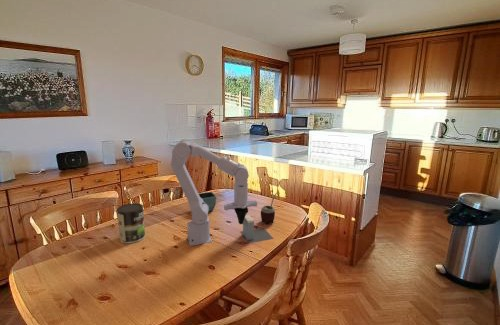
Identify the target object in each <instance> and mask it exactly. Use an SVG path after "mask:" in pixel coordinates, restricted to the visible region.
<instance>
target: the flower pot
mask: <svg viewBox="0 0 500 325" xmlns="http://www.w3.org/2000/svg"><path fill="white" fill-rule="evenodd" d="M198 194H199V196H200V197H201V198H202V199H203V201H204V202H205V203H206V204H207V205H208V207H209V212H212V211H214V209H215V207H216V204H217V203H216V202H217V195H215V193H213V192H212V191H209V192H200V193H199V192H198Z"/></svg>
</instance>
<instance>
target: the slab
mask: <svg viewBox="0 0 500 325" xmlns="http://www.w3.org/2000/svg"><path fill="white" fill-rule="evenodd" d="M254 229H255V220H254V218H252V217H251V215H250V214H246V216H245V218H244V221H243V224H242V231H243V235H244V236H245V237H246V239H247V240H252V239H254ZM243 235H242V236H243ZM246 239H245V240H246Z"/></svg>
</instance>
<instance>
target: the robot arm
mask: <svg viewBox="0 0 500 325" xmlns="http://www.w3.org/2000/svg"><path fill="white" fill-rule="evenodd" d="M171 153H172V155H171V161H170V162H171V163H170V167H171V169H172V171H173V173H174V176H175V177H176V179H177V181H178V183H179V185H180V187H181V189H182V192H183V193H184V196H185V198H186V199H187V202H188V203H189V208H190V209H189V211H190V213H191V219H192V220H190V221H189V222H187V224H186V226H187V227H186V228H187V240H188V244H189V246H191V247H193V246H197V245H202V244H203V245H204V244H208V243H213V239H212V237H211V232H210V229H211V228H210V226H211V224H210V218H209V216H208V214H209V212H210V211H209V207H208V205H207V204H206V203H205V202H204V201H203V199H202V198H201V197H200V196H199V191H198V190H197V187H196V186H195V183H194V181H193V179H192V177H191V175H190V173H189V171H188V168H187V167H186V162H187V159H188V158H189V156H190V157H191V158H194V157H200V158H202V159H205V160H206V161H209V162H211V163H212V164H215V165H216V166H217V168H218V170H220V171H222V172H223V173H225V174H227V175H229V176H233V177H234V184H233V185H234V187H233V188H234V189H233V190H234V191H233V193H234V194H233V198H234V199H233V202H231V203H230V202H229V203H226V204H223V210H225V211H226V212H227V211H228V210H234V213H235V214H236V217H237V221H238V224H239V225H243V221H244V218H245V216H246V215H248V212H249V208H251V207H258V202H257V201H256V200H248V197H249V196H248V193H249V192H248V191H249V190H248V189H249V186H248V185H249V183H248V182H249V181H248V179H249V177H250V176H249V171H248V168H247V166H245V165H244V164H241V163H240V162H236V161H234V160H232V159H231V157H230V156H227V157H226V156H222V157H220V156H218V154H215V153H213V152H212V151H211V150H209V149H207V148H205V147H204V146H202V145H200V144H199V143H197V142H194V141H191V140H190V139H186V138H185V139H182V140H180V141H179V142H178V143H176V144H175V146H174V147H173V149H172V151H171Z"/></svg>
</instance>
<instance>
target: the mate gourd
mask: <svg viewBox="0 0 500 325" xmlns="http://www.w3.org/2000/svg"><path fill="white" fill-rule="evenodd" d="M277 194H278V192H276V193H275V194H274V195H273V196H272V198H271V199H272V200H271V203H270V205H264V206H263V207H261V211H260V219H261V222H264V223H265V225H268V224H269V223H271V224H272V223H273V224H274V221H275V218H276V217H275V215H276V212H275V209H274V207H273V203H274V199H275V197H276V196H277Z"/></svg>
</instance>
